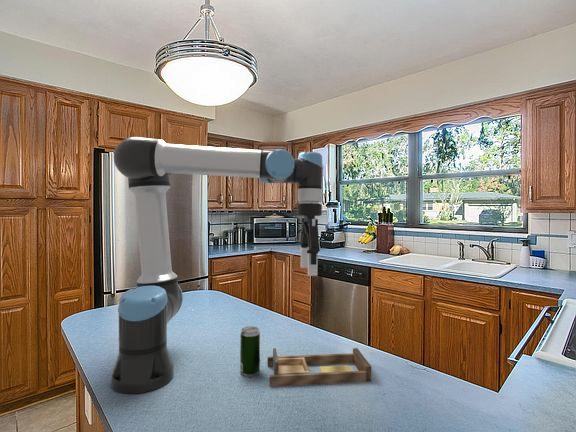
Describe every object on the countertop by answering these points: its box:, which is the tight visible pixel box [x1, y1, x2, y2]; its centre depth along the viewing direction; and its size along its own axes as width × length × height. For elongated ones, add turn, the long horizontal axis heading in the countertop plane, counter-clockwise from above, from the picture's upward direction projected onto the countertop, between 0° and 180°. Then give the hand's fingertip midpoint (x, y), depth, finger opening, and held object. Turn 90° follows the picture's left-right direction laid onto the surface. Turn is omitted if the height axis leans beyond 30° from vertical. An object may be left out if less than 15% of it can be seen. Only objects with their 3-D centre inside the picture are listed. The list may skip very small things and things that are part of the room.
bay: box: [266, 347, 372, 388], centre depth 94 cm, size 27×12×4 cm, turn 96°
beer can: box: [239, 325, 261, 378], centre depth 94 cm, size 5×5×12 cm
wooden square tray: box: [272, 347, 310, 375], centre depth 94 cm, size 9×9×5 cm
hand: (308, 271), depth 106 cm, fingers open, 13 cm apart
